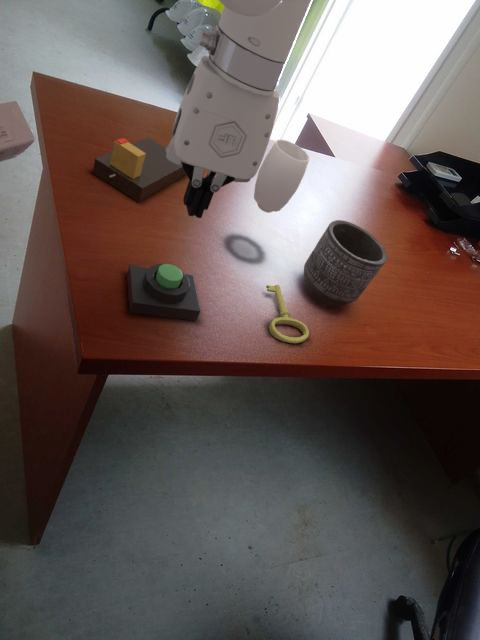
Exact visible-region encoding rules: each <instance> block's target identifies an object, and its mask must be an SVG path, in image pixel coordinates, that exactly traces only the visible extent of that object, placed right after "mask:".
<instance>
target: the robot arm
mask: <svg viewBox="0 0 480 640" xmlns="http://www.w3.org/2000/svg"><path fill="white" fill-rule="evenodd" d="M217 1H218V2H219V3H221V5H223V9H222V12H221V15H220V18H219V22H218V24H215V27H214V29H213V30H212V31H211V30H209V31H208V30H204V29H201V30H200V32H199V35H198V41H197V44H198V46H201V47H203V48H204V50H205V51H207V52H208V55H203V56H201V58H200V60H199V61H198V63H197V66H196V67H195V69H194V71H193V74H192V76H191V79H190V80H189V82H188V84H187V86H186V89H185V91H184V94H183V97H182V99H181V101H180V104H179V107H178V110H177V112H176V116H175V119H174V122H173V125H172V130H171V139H170V141H169V142H168V144H167V146H166V147H165V148H166V149H165V155H166V158H167V160H168V161H170V162H172V163H174V164H176V165H178V166H180V167H182V168H183V169H184V171H185V173H186V174H185V175H186V176H187V178H188V183H187V186H186V189H185V192H184V195H183V199H182V200H183V202H182V203H183V205H184V206H185V207H186V211H187V215H188V216H189V217H194V216H195V217H196V218H197V219H202V217H203V215H204V211H208V209H209V207H210V204H211V202H212V199H213V196H214V194H215V193H218V192H219V191H220V190H221V188H222V187H225V186H226V185H229V184H231V183H232V182H234V183H249V182H250V181H251V179H253V178H254V177H256V175H257V174H258V172H259V170H260V167H261V165H262V163H263V160H264V156H265V153H266V150H267V148H268V145H269V143H270V139H271V135H272V133H273V130H274V126H275V122H276V118H277V115H278V111H279V107H280V102H281V97H282V96H281V93H280V92H279V91H278V89H277V87H278V85H279V82H280V79H281V77H282V75H283V72H284V70H285V67H286V65H287V62H288V61H289V58H290V56H291V54H292V51H293V49H294V46H295V44H296V42H297V39H298V37H299V34H300V31H301V29H302V26H303V24H304V22H305V19H306V17H307V15H308V13H309V10H310V8H311V5H312V3H313V0H217ZM205 170H206V171H208V172H207V174H206V176H205V177H204V173H205Z"/></svg>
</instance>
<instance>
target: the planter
mask: <svg viewBox="0 0 480 640" xmlns="http://www.w3.org/2000/svg"><path fill="white" fill-rule="evenodd" d="M387 260H388V254H387V251H386V249H385V247H384V245H383V244H382V243H381V242H380V241H379V240H378V239H377V237H375V236H374V235H373V233H370V232H369V231H367V230H366V229H364V228H363V227H362V226H359V225H357V224H355V223H353V222H350V221H347V220H342V219H337V220H336V219H335V220H333V221H331V222H330V223H329V224H328V226H327V227H326V229H325V231H324V232H323V234H322V235H321V237H320V238H319V239H318V242H317V243H316V245H315V247H314V249H313V250H312V251H311V253H310V254H309V256H308V258H307V259H306V261H305V263H304V266H303V281H304V289H305V291H306V293H307V294H308V296H309V297H310V298H311V299H312V300H313V301H315V302H316V303H317V304H319V305H321V306H323V307H326V308H328V309H329V308H330V309H335V308H340V307H343V306H346V305H349V304H351V303H354V302H355V301H357V300H358V299H359V298H360V297H361V295H362V294H363V293H364V292H365V290H366V289H367V287H368V286H369V285H370V283H371V282H372V281H373V280H374V278H375V277H376V275H377V274H378V273H379V271H381V269H382V268H383V266H384V265H385V264H386V262H387Z"/></svg>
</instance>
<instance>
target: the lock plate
mask: <svg viewBox="0 0 480 640" xmlns="http://www.w3.org/2000/svg"><path fill="white" fill-rule="evenodd" d="M131 144H132V145H134V146H135V147H137V148H138V149H140V150H141V151H143V152H144V153H146V155H145V159H144V163H143V167H142V171H141V175H140V176H138V177H136V178H134V179H132V178H130V177H129V176H127V175H126V174H124V173H123V172H121V171H120V170H118V169H116V168H115V167H113V166H112V165H110V161H111V156H112V151H110V152H108V153H105V154H103V155H101V156H98V157H95V158H94V164H93V169H92V175H95V176H96V177H97V178H99V179H101V180H103V181H104V182H106V183H107V184H110V185H111V186H113V187H114V188H115V189H117V190H119V191H120V192H122V193H123V194H125V195H126V196H127V197H130V198H131V199H133V200H134V201H136V202H137V203H140V202H141V201H143V200H145V199H147V198H149V197H150V196H152V195H154V194H155V193H157V192H158V191H161V190H162V189H164V188H166V187H168V186H169V185H171V184H172V183H174V182H176V181H179V179H181V178H183V177H185V176H186V175H187V174H186V173H185V171H184V169H183V168H182V167H180V166H178V165H176V164H174V163H172V162H170V161H168V160H167V158H166V155H165V149H166V148H167V147H166V146H164V145H163V144H160V143H159V142H158V141H156V140H155V139H153V138H151V137H149V136H147V137H145V138H143V139H140V140H138V141H136V142H133V143H131Z"/></svg>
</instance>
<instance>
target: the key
mask: <svg viewBox="0 0 480 640" xmlns="http://www.w3.org/2000/svg"><path fill="white" fill-rule="evenodd" d="M265 288H266V292H268V293H274V295H275V299H276V303H277V306H278V309H279V314H278V317H276V318H274V319H272V321H270V323H269V325H268V332H269V334H270V335H271V336H272V337H273V338H275V339H277V340H278V341H281V342H283V343H288V344H300V343H303V342H305V341H307V340H308V337H309V335H310V331H309V328H308V326H307V325H306V324H305V323H304V322H303V321H300V320H299V319H296V318H293V317H291V312H290V311H289V310H288V309H287V306H286V302H285V300H284V296H283V293H282V289H281V285H280V284H275V285H268V284H267V285H266V286H265ZM276 325H287V326H292V327H294V328H297V329H298V330H300V331H301V333H302V335H301V336H297V337H294V336H288V335H285V334H283V333H281V332H280V331H279V330H277V327H276Z"/></svg>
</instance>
